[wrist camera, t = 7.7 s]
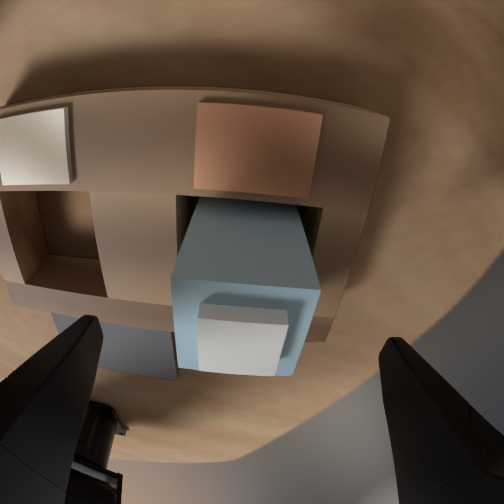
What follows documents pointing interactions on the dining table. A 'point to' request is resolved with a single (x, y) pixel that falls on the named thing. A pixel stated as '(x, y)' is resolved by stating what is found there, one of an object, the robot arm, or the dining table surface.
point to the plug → (243, 288)
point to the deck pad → (132, 349)
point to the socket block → (176, 188)
